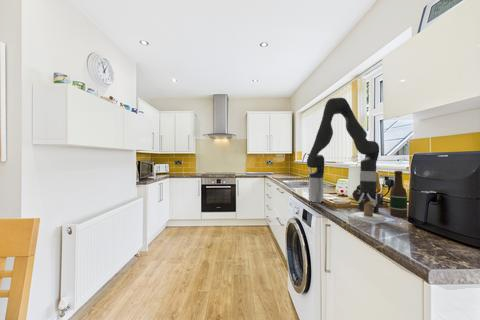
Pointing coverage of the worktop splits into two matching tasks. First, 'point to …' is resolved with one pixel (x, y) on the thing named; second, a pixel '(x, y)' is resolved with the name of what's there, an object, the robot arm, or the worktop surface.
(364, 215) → the lid
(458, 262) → the worktop surface
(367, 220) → the mat
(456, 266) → the worktop surface
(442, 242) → the worktop surface
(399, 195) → the beer bottle
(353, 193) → the ice cream bowl
